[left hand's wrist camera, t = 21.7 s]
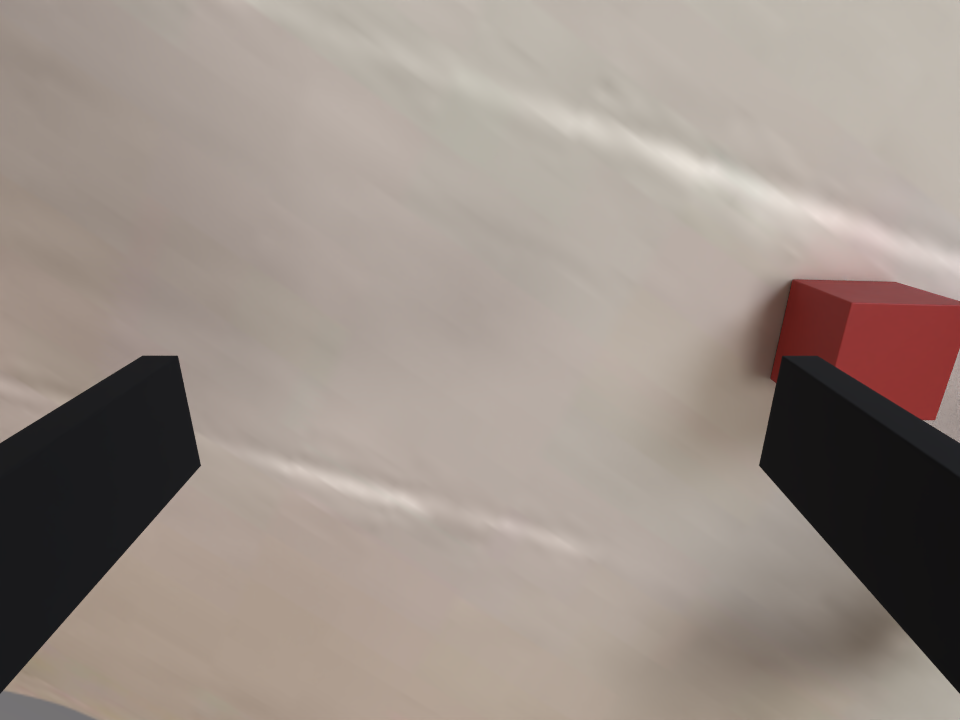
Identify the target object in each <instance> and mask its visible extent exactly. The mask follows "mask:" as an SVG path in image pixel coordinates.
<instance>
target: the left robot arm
mask: <svg viewBox="0 0 960 720" xmlns="http://www.w3.org/2000/svg"><path fill="white" fill-rule="evenodd" d="M200 466H201V464H200V459H199V454H198V450H197V445H196V440H195V435H194V431H193V426H192V421H191V416H190V412H189V407H188V402H187V397H186V393H185V388H184V383H183V378H182V373H181V369H180V364H179V359H178V356H141V357H140V358H138V359H136V360H135V361H133V362H132V363H130V364H128V365H127V366H125V367H123V368H122V369H120V370H119V371H117V372H115V373H114V374H112V375H110V376H109V377H107V378H106V379H104V380H102V381H101V382H99V383H97V384H96V385H94V386H93V387H91V388H89V389H88V390H86V391H84V392H83V393H81V394H80V395H78V396H76V397H75V398H73V399H71V400H70V401H68V402H67V403H65V404H63V405H62V406H60V407H58V408H57V409H55V410H54V411H52V412H50V413H49V414H47V415H45V416H44V417H42V418H41V419H39V420H37V421H36V422H34V423H32V424H31V425H29V426H28V427H26V428H24V429H23V430H21V431H19V432H18V433H16V434H14V435H13V436H11V437H10V438H8V439H6V440H5V441H3V442H1V443H0V693H1V692H2V691H3V690H4V689H5V688H6V687H7V685H8V684H9V683H10V682H11V681H12V680H13V679H14V677H15V676H16V675H17V674H18V673H19V672H20V671H21V669H22V668H23V667H24V666H25V665H26V664H27V663H28V661H29V660H30V659H31V658H32V657H33V656H34V655H35V654H36V652H37V651H38V650H39V649H40V648H41V647H42V646H43V644H44V643H45V642H46V641H47V640H48V639H49V638H50V636H51V635H52V634H53V633H54V632H55V631H56V630H57V629H58V627H59V626H60V625H61V624H62V623H63V622H64V621H65V619H66V618H67V617H68V616H69V615H70V614H71V613H72V611H73V610H74V609H75V608H76V607H77V606H78V605H79V604H80V602H81V601H82V600H83V599H84V598H85V597H86V596H87V594H88V593H89V592H90V591H91V590H92V589H93V588H94V586H95V585H96V584H97V583H98V582H99V581H100V580H101V579H102V577H103V576H104V575H105V574H106V573H107V572H108V571H109V569H110V568H111V567H112V566H113V565H114V564H115V563H116V561H117V560H118V559H119V558H120V557H121V556H122V555H123V553H124V552H125V551H126V550H127V549H128V548H129V547H130V546H131V544H132V543H133V542H134V541H135V540H136V539H137V538H138V536H139V535H140V534H141V533H142V532H143V531H144V530H145V528H146V527H147V526H148V525H149V524H150V523H151V522H152V521H153V519H154V518H155V517H156V516H157V515H158V514H159V513H160V511H161V510H162V509H163V508H164V507H165V506H166V505H167V503H168V502H169V501H170V500H171V499H172V498H173V497H174V496H175V494H176V493H177V492H178V491H179V490H180V489H181V488H182V486H183V485H184V484H185V483H186V482H187V481H188V480H189V478H190V477H191V476H192V475H193V474H194V473H195V472H196V471H197V469H198V468H199V467H200ZM759 466H760V467H761V468H762V469H763V471H764V472H765V473H766V474H767V475H768V476H769V477H770V478H771V480H772V481H773V482H774V483H775V484H776V485H777V486H778V488H779V489H780V490H781V491H782V492H783V493H784V494H785V496H786V497H787V498H788V499H789V500H790V501H791V502H792V503H793V505H794V506H795V507H796V508H797V509H798V510H799V511H800V513H801V514H802V515H803V516H804V517H805V518H806V519H807V521H808V522H809V523H810V524H811V525H812V526H813V527H814V528H815V530H816V531H817V532H818V533H819V534H820V535H821V536H822V538H823V539H824V540H825V541H826V542H827V543H828V544H829V546H830V547H831V548H832V549H833V550H834V551H835V552H836V553H837V555H838V556H839V557H840V558H841V559H842V560H843V561H844V563H845V564H846V565H847V566H848V567H849V568H850V569H851V571H852V572H853V573H854V574H855V575H856V576H857V577H858V579H859V580H860V581H861V582H862V583H863V584H864V585H865V586H866V588H867V589H868V590H869V591H870V592H871V593H872V594H873V596H874V597H875V598H876V599H877V600H878V601H879V602H880V604H881V605H882V606H883V607H884V608H885V609H886V610H887V611H888V613H889V614H890V615H891V616H892V617H893V618H894V619H895V621H896V622H897V623H898V624H899V625H900V626H901V627H902V629H903V630H904V631H905V632H906V633H907V634H908V635H909V636H910V638H911V639H912V640H913V641H914V642H915V643H916V644H917V646H918V647H919V648H920V649H921V650H922V651H923V652H924V654H925V655H926V656H927V657H928V658H929V659H930V660H931V661H932V663H933V664H934V665H935V666H936V667H937V668H938V669H939V671H940V672H941V673H942V674H943V675H944V676H945V677H946V679H947V680H948V681H949V682H950V683H951V684H952V685H953V687H954V688H955V689H956V690H957V691H958V692H959V693H960V443H959V442H957V441H955V440H954V439H952V438H950V437H949V436H947V435H945V434H944V433H942V432H941V431H939V430H937V429H936V428H934V427H932V426H931V425H929V424H928V423H926V422H924V421H923V420H921V419H919V418H918V417H916V416H915V415H913V414H911V413H910V412H908V411H906V410H905V409H903V408H902V407H900V406H898V405H897V404H895V403H893V402H892V401H890V400H889V399H887V398H885V397H884V396H882V395H880V394H879V393H877V392H876V391H874V390H872V389H871V388H869V387H867V386H866V385H864V384H863V383H861V382H859V381H858V380H856V379H854V378H853V377H851V376H850V375H848V374H846V373H845V372H843V371H841V370H840V369H838V368H837V367H835V366H833V365H832V364H830V363H828V362H827V361H825V360H824V359H822V358H820V357H819V356H782V359H781V364H780V369H779V373H778V378H777V383H776V388H775V392H774V397H773V402H772V407H771V412H770V416H769V421H768V426H767V431H766V435H765V440H764V445H763V450H762V454H761V459H760V464H759Z"/></svg>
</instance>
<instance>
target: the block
mask: <svg viewBox="0 0 960 720" xmlns="http://www.w3.org/2000/svg"><path fill="white" fill-rule="evenodd" d="M959 349H960V301H957V300H954V299H950V298H947V297H944V296H940V295H937V294H934V293H930V292H927V291H924V290H920V289H917V288H914V287H910V286H907V285H904V284H900V283H897V282H873V281H834V280H795V279H794V280H792V284H791V289H790V293H789V298H788V302H787V307H786V311H785V316H784V320H783V325H782V329H781V334H780V338H779V343H778V347H777V352H776V356H775V361H774V365H773V370H772V374H771V379H772V380H773V381H774V382H776V383H777V378H778V373H779V369H780V364H781V359H782V356H819V357H820V358H822V359H824V360H825V361H827V362H828V363H830V364H832V365H833V366H835V367H837V368H838V369H840V370H841V371H843V372H845V373H846V374H848V375H850V376H851V377H853V378H854V379H856V380H858V381H859V382H861V383H863V384H864V385H866V386H867V387H869V388H871V389H872V390H874V391H876V392H877V393H879V394H880V395H882V396H884V397H885V398H887V399H889V400H890V401H892V402H893V403H895V404H897V405H898V406H900V407H902V408H903V409H905V410H906V411H908V412H910V413H911V414H913V415H915V416H916V417H918V418H919V419H921V420H935V419H936V416H937V413H938V410H939V407H940V404H941V401H942V398H943V395H944V392H945V389H946V387H947V384H948V381H949V378H950V375H951V372H952V369H953V366H954V363H955V360H956V357H957V354H958V352H959Z"/></svg>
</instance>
